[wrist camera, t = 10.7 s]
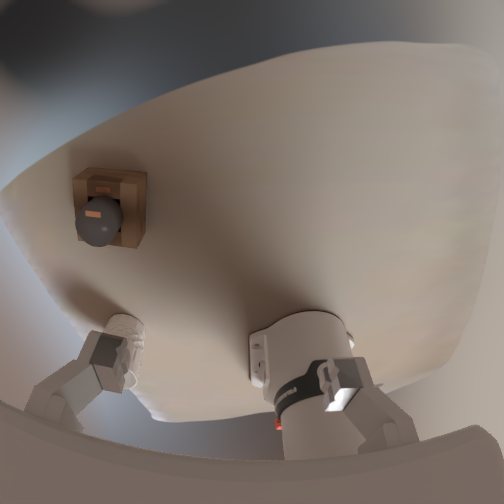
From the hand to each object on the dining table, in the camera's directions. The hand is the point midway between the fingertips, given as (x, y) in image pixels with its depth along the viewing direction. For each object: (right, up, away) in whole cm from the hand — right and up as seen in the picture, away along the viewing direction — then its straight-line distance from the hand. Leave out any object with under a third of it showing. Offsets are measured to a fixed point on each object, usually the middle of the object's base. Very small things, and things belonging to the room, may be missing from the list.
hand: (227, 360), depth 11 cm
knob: (-16, +10, +22) cm, 29 cm away
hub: (-16, +11, +23) cm, 30 cm away
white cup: (-20, -8, +35) cm, 41 cm away
